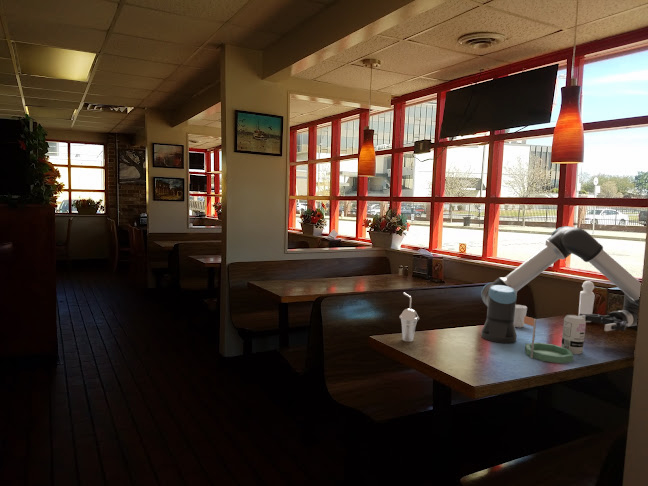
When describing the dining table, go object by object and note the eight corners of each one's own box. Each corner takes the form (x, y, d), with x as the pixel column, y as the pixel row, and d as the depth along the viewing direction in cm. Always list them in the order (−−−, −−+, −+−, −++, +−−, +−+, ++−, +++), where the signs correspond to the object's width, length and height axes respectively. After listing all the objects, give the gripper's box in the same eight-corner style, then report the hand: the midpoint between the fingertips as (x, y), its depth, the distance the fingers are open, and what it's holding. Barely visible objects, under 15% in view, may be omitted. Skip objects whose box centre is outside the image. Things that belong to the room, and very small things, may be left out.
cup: (544, 346, 204) (547, 310, 202) (580, 359, 189) (584, 321, 187) (513, 351, 195) (517, 314, 193) (549, 365, 180) (553, 324, 178)
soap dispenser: (590, 320, 257) (595, 280, 255) (592, 322, 251) (596, 282, 249) (577, 318, 259) (581, 279, 257) (578, 321, 253) (582, 281, 251)
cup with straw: (399, 342, 200) (402, 296, 198) (396, 336, 209) (399, 292, 207) (419, 343, 200) (422, 297, 198) (415, 337, 209) (418, 292, 207)
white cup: (526, 328, 233) (528, 308, 232) (510, 326, 234) (511, 307, 233) (523, 324, 241) (525, 305, 240) (507, 322, 242) (509, 303, 241)
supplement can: (563, 347, 205) (566, 313, 203) (584, 351, 200) (588, 317, 198) (558, 351, 199) (562, 316, 197) (580, 356, 193) (584, 320, 192)
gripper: (647, 335, 202) (618, 340, 192) (592, 320, 224) (563, 324, 214) (649, 318, 201) (620, 322, 191) (593, 305, 223) (564, 308, 213)
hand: (589, 323), depth 202 cm, fingers open, 13 cm apart
